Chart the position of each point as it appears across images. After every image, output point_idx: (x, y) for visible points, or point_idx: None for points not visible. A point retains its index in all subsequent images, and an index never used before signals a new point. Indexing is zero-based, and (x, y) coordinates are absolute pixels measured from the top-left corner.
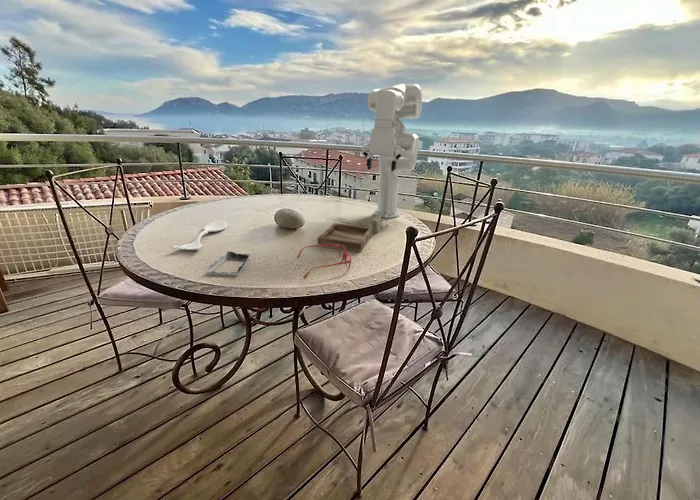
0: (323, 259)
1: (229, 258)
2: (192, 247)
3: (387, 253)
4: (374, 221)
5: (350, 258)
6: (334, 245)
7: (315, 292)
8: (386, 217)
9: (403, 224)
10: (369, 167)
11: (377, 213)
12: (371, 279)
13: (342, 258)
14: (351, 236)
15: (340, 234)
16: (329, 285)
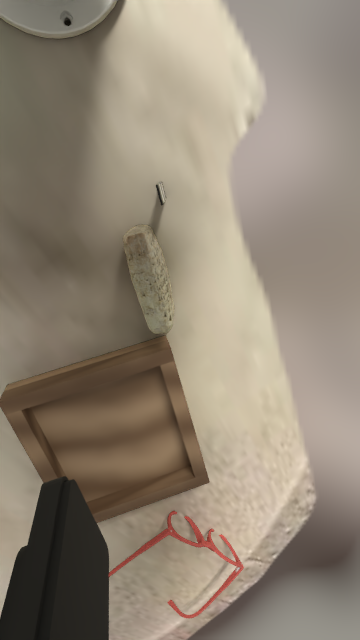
0: None
1: None
2: None
3: (267, 424)
4: (164, 332)
5: (239, 566)
6: (157, 539)
7: (218, 611)
8: (162, 192)
9: (217, 103)
10: (107, 575)
11: (5, 5)
12: (281, 533)
13: (192, 527)
14: (124, 417)
15: (80, 428)
16: (225, 588)
